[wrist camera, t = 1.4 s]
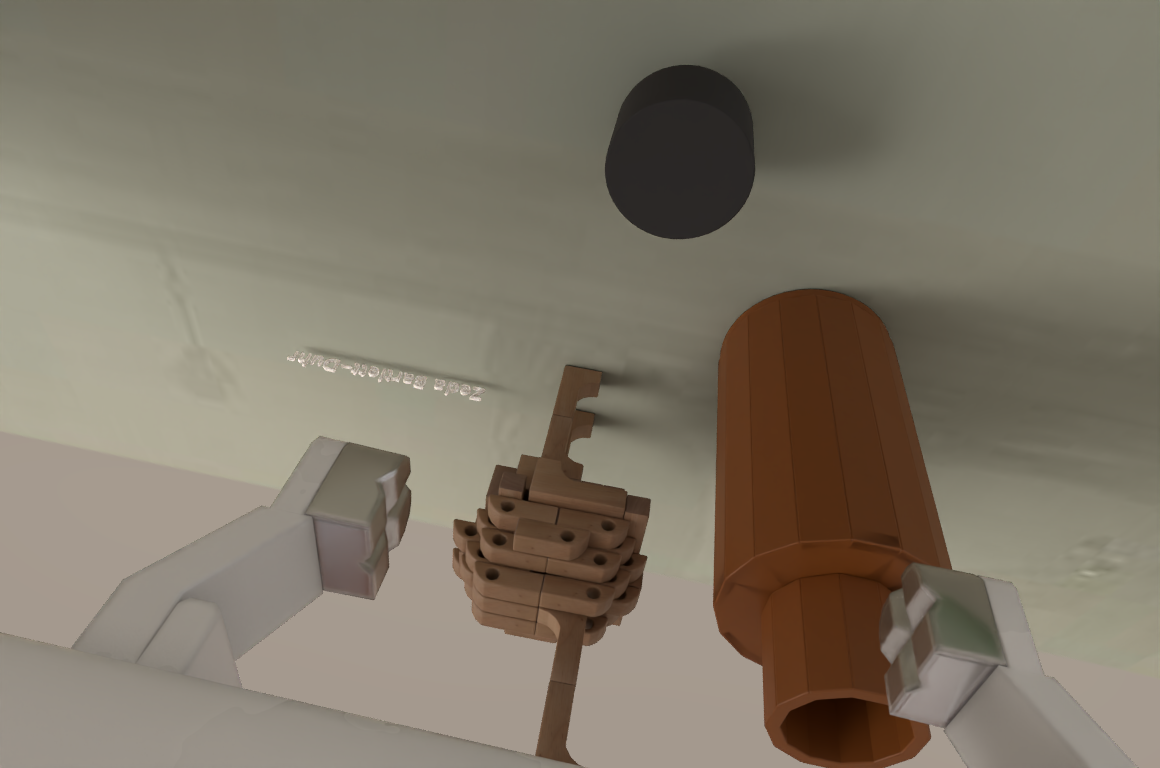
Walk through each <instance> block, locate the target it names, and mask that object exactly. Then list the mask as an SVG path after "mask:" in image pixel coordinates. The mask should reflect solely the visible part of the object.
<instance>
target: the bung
mask: <svg viewBox="0 0 1160 768" xmlns="http://www.w3.org/2000/svg"><path fill="white" fill-rule="evenodd" d="M754 176H755V157H754V138H753V121H752V116H751V112H750V109H749V106H748V104H747V102H746V100H745V98H744V96H743V95H742V93H741V92H740V90H739V89H738V88H737V87H736V86H735V85H734V84H733V83H732V82H731V81H730V80H728V79H727V78H726V77H724V76H723V75H721V74H719V73H718V72H715V71H713V70H711V69H708V68H704V67H701V66H694V65H678V66H671V67H668V68H664V69H661V70H659V71H656V72H654V73H652V74H651V75H649V76H647V77H646V78H644V79H643V80H642V81H640V82H639V83H638V84H637V85H636V86H635V87H634V88H633V89H632V90H631V92H630V93H629V94H628V96H627V97H626V99H625V101H624V102H623V104H622V106H621V109H620V111H619V114H618V118H617V121H616V124H615V128H614V131H613V135H612V138H611V141H610V145H609V148H608V152H607V156H606V163H605V177H606V183H607V187H608V190H609V193H610V196H611V198H612V200H613V202H614V203H615V205H616V207H617V208H618V210H619V211H620V212H621V213H622V214H623V215H624V217H625V218H627V219H628V220H629V221H630V222H631V223H632V224H634V225H635V226H637V227H638V228H640V229H642V230H643V231H645V232H647V233H650V234H652V235H655V236H659V237H663V238H669V239H689V238H695V237H700V236H703V235H706V234H709V233H711V232H713V231H715V230H717V229H719V228H720V227H722V226H723V225H725V224H726V223H727V222H729V221H730V220H731V219H732V218H733V217H734V216H735V215H736V214H737V213H738V212H739V211H740V209H741V208H742V207H743V205H744V204H745V202H746V200H747V198H748V197H749V194H750V192H751V189H752V186H753V182H754Z"/></svg>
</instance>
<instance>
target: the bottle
mask: <svg viewBox="0 0 1160 768" xmlns="http://www.w3.org/2000/svg"><path fill="white" fill-rule="evenodd" d="M913 562H915V563H920V564H925V565H930V566H935V567H940V568H945V569H950V570H952V566H951V563H950V559H949V555H948V551H947V547H946V543H945V540H944V536H943V532H942V528H941V524H940V521H939V517H938V513H937V509H936V505H935V501H934V498H933V494H932V490H931V486H930V482H929V479H928V475H927V471H926V467H925V463H924V459H923V456H922V452H921V448H920V444H919V440H918V437H917V433H916V429H915V425H914V421H913V417H912V414H911V410H910V406H909V402H908V398H907V395H906V391H905V387H904V383H903V379H902V375H901V372H900V368H899V364H898V360H897V356H896V353H895V349H894V345H893V342H892V341H891V339H890V337H889V333H888V331H887V329H886V327H885V325H884V324H883V322H882V321H881V319H880V318H879V317H878V316H877V315H876V314H875V313H874V312H873V311H872V310H871V309H870V308H868V307H867V306H866V305H864V304H863V303H861V302H859V301H858V300H856V299H854V298H852V297H849V296H847V295H844V294H841V293H837V292H833V291H827V290H818V289H805V290H795V291H789V292H784V293H781V294H778V295H774V296H772V297H769V298H767V299H765V300H763V301H761V302H759V303H757V304H755V305H754V306H752V307H751V308H750V309H748V310H747V311H745V312H744V313H743V314H742V315H741V316H740V317H739V318H738V319H737V320H736V321H735V323H734V324H733V325H732V326H731V328H730V329H729V331H728V333H727V334H726V336H725V339H724V341H723V344H722V348H721V353H720V360H719V364H718V408H717V454H716V500H715V545H714V593H713V608H714V611H715V616H716V620H717V624H718V628H719V632H720V633H721V635H722V636H723V637H724V638H725V639H726V640H727V641H728V642H729V643H730V644H731V645H732V646H733V647H734V648H735V649H736V650H737V651H738V652H739V653H740V654H741V655H742V656H743V657H745V658H748V659H750V660H752V661H753V662H755V663H757V664H759V665H761V666H763V695H764V725H765V728H766V729H767V732H768V734H769V736H770V738H771V741H772V743H773V745H774V746H775V747H776V748H778V749H780V750H781V751H783V752H785V753H786V754H788V755H790V756H792V757H793V758H795V759H797V760H798V761H800V762H803V763H807V764H812V765H816V766H821V767H826V768H885V767H888V766H891V765H894V764H897V763H900V762H903V761H906V760H908V759H912V758H913V757H915V756H916V755H917V754H918V753H919V752H920V750H921V749H922V748H923V747H924V746H925V745H926V744H927V743H928V741H929V740H930V739H931V734H930V728H929V724H925V723H921V722H917V721H913V720H909V719H905V718H901V717H897V716H893V715H890V713H889V706H888V699H887V693H886V686H885V679H884V675H885V674H886V672H887V671H888V669H889V668H890V666H891V663H890V662H889V661H888V659H887V658H886V657H885V655H884V654H883V653H882V652H881V650H880V642H879V621H880V616H881V612H882V608H883V605H884V603H885V601H886V600H887V598H888V596H889V594H890V593H892V592H894V591H896V590H899V589H901V588H903V587H902V581H901V575H902V573H903V572H904V570H905V568H906V567H907V566H908V565H910V564H911V563H913Z"/></svg>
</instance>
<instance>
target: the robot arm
mask: <svg viewBox="0 0 1160 768" xmlns="http://www.w3.org/2000/svg"><path fill="white" fill-rule="evenodd" d="M410 472H411V470H410V458H409V457H407V456H405V455H401V454H396V453H392V452H388V451H384V450H380V449H375V448H371V447H367V446H363V445H359V444H354V443H350V442H349V443H348V442H344V441H340V440H335V439H331V438H327V437H323V436H319V437H318V438H317V439H315V440H314V441H313V442H312V443H311V444H310V446H309V447H308V449H307V450H306V452H305V454H304V455H303V457H302V458H301V460H300V461H299V463H298V464H297V466H296V468H295V469H294V471H293V472H292V474H291V475H290V477H289V479H288V480H287V482H286V483H285V485H284V486H283V488H282V490H281V491H280V493H279V494H278V496H277V497H276V499H275V500H274V502H273V504H272V505H271V507H266V506H260V507H258V508H256V509H254V510H252V511H251V512H249V513H247V514H245V515H243V516H241V517H239V518H238V519H236V520H234V521H232V522H230V523H228V524H226V525H225V526H223V527H221V528H219V529H217V530H215V531H213V532H212V533H209V534H208V535H206V536H204V537H202V538H200V539H198V540H196V541H194V542H193V543H191V544H189V545H187V546H185V547H183V548H181V549H179V550H178V551H176V552H174V553H172V554H170V555H168V556H166V557H164V558H163V559H161V560H159V561H157V562H155V563H153V564H151V565H150V566H148V567H146V568H144V569H142V570H140V571H138V572H136V573H135V574H133V575H131V576H129V577H127V578H125V579H123V580H122V582H121V583H120V584H119V586H118V587H117V588H116V590H115V591H114V592H113V593H112V595H111V596H110V598H109V599H108V600H107V601H106V603H105V604H104V605H103V607H102V608H101V609H100V611H99V612H98V613H97V615H96V616H95V617H94V618H93V620H92V621H91V622H90V624H89V625H88V626H87V628H86V629H85V630H84V632H83V633H82V634H81V636H80V637H79V638H78V639H77V641H76V642H75V643H74V645H73V646H72V647H71V649H70V648H66V647H61V646H57V645H53V644H48V643H44V642H40V641H35V640H31V639H27V638H22V637H18V636H14V635H9V634H5V633H1V632H0V768H586V767H582V766H578V765H573V764H569V763H565V762H560V761H556V760H552V759H547V758H543V757H539V756H534V755H529V754H525V753H520V752H517V751H512V750H508V749H504V748H499V747H495V746H491V745H486V744H481V743H478V742H473V741H469V740H465V739H460V738H456V737H452V736H447V735H443V734H439V733H434V732H430V731H426V730H421V729H417V728H412V727H408V726H404V725H399V724H395V723H391V722H386V721H382V720H377V719H373V718H369V717H365V716H360V715H356V714H352V713H347V712H343V711H339V710H334V709H330V708H326V707H321V706H317V705H313V704H308V703H304V702H300V701H295V700H291V699H287V698H282V697H277V696H274V695H269V694H265V693H260V692H256V691H252V690H248V689H243V688H242V684H241V681H240V677H239V674H238V670H237V667H236V663H235V661H236V660H237V659H239V658H240V657H241V656H242V655H243V654H245V653H246V652H247V651H249V650H250V649H252V648H253V647H254V646H255V645H256V644H258V643H259V642H261V641H262V640H263V639H265V638H266V637H267V636H268V635H270V634H271V633H272V632H274V631H275V630H276V629H277V628H279V627H280V626H281V625H283V624H284V623H285V622H287V621H288V620H289V619H290V618H292V617H293V616H294V615H295V614H297V613H298V612H299V611H301V610H302V609H303V608H305V607H306V606H307V605H308V604H310V603H311V602H313V601H314V600H315V599H316V598H318V597H319V596H320V595H321V594H323V590H325V591H329V592H334V593H339V594H345V595H350V596H355V597H360V598H365V599H370V600H374V599H375V597H376V595H377V592H378V591H379V588H380V586H381V583H382V582H383V579H384V577H385V575H386V573H387V570H388V568H389V555H388V552H389V551H391V550H392V549H394V548H395V547H397V546H398V545H399V544H400V541H401V538H402V536H403V534H404V532H405V528H406V525H407V521H408V518H409V514H410V506H411V490H410V489H409V488H408V487H407V485H406V484H405V483H406V481H407V479H408V477H409V475H410ZM901 581H902V587H903V588H901V589H899V590H896V591H894V592H892V593H890V594H889V596H888V598H887V600H886V601H885V603H884V605H883V608H882V612H881V616H880V621H879V642H880V650H881V652H882V653H883V654H884V655H885V657H886V658H887V659H888V661H889V662H890V663H891V666H890V668H889V669H888V671H887V672H886V674H885V675H884V679H885V686H886V693H887V699H888V706H889V713H890V715H893V716H897V717H901V718H905V719H909V720H913V721H917V722H921V723H925V724H929V725H933V726H937V727H941V728H945V730H944V732H945V734H946V735H947V737H948V738H949V740H950V741H951V743H952V745H953V746H954V748H955V749H956V751H957V752H958V754H959V755H960V757H961V759H962V760H963V761H964V763H965V765H966V766H967V768H1138V767H1137V766H1136V765H1135V764H1134V763H1133V761H1132V760H1131V759H1130V758H1129V757H1128V756H1127V755H1126V754H1125V753H1124V752H1123V751H1122V750H1121V749H1120V747H1119V746H1118V745H1117V744H1116V743H1115V742H1114V741H1113V740H1112V739H1111V738H1110V737H1109V736H1108V735H1107V734H1106V732H1105V731H1104V730H1103V729H1102V728H1101V727H1100V726H1099V725H1098V724H1097V723H1096V722H1095V721H1094V720H1093V719H1092V717H1091V716H1090V715H1089V714H1088V713H1087V712H1086V711H1085V710H1084V709H1083V708H1082V707H1081V706H1080V705H1079V704H1078V703H1077V701H1076V700H1075V699H1074V698H1073V697H1072V696H1071V695H1070V694H1069V693H1068V692H1067V691H1066V690H1065V689H1064V687H1063V686H1062V685H1061V684H1060V683H1059V682H1058V681H1057V680H1056V679H1055V678H1053V677H1049V676H1045V675H1044V672H1043V669H1042V666H1041V663H1040V659H1039V657H1038V653H1037V650H1036V647H1035V644H1034V641H1033V638H1032V635H1031V631H1030V628H1029V625H1028V622H1027V619H1026V616H1025V613H1024V610H1023V606H1022V603H1021V600H1020V597H1019V594H1018V591H1017V588H1016V587H1015V586H1014V585H1013V583H1012V582H1008V581H1003V580H998V579H994V578H989V577H984V576H979V575H978V576H976V575H974V574H971V573H965V572H960V571H955V570H950V569H945V568H940V567H935V566H930V565H925V564H920V563H915V562H913V563H911V564H910V565H908V566H907V567H906V568H905V570H904V572H903V573H902V575H901Z"/></svg>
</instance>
